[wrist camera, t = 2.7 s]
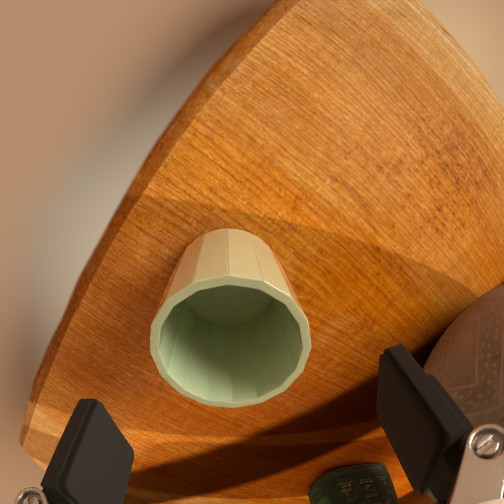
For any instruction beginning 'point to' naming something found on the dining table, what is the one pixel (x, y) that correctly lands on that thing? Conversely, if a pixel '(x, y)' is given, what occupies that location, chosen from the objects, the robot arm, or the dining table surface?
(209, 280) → the sage cup
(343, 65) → the dining table surface
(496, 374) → the bowl
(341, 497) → the coffee jar
